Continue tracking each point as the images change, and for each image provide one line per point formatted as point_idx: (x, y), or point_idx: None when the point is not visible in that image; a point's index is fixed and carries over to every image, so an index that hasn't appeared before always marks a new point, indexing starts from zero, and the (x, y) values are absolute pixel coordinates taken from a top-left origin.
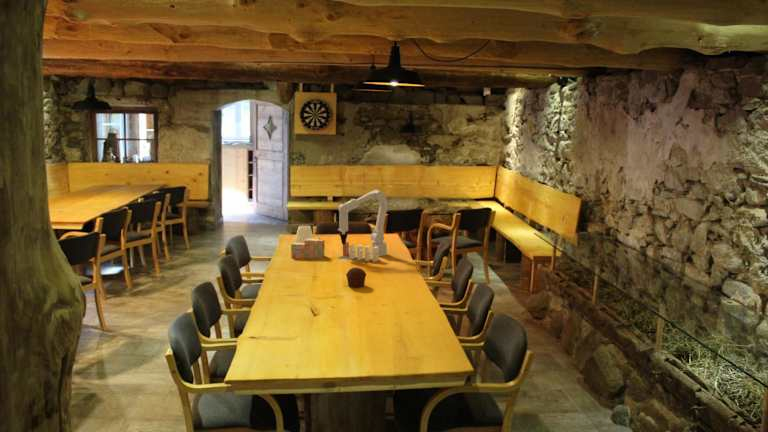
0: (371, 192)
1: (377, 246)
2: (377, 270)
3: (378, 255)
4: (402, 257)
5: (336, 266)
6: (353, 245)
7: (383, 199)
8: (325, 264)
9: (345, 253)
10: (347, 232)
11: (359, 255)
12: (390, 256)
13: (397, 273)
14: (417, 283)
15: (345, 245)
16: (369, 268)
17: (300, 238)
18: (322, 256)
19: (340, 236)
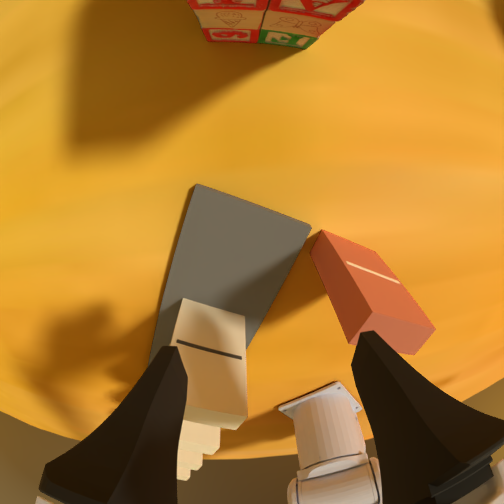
0: None
1: (186, 479)
2: (44, 386)
3: (292, 415)
4: (271, 453)
5: (3, 223)
6: (187, 418)
7: None
8: (21, 133)
9: (316, 267)
10: (383, 499)
11: None
12: (291, 434)
13: (51, 416)
14: (16, 416)
15: (340, 323)
16: (50, 371)
17: None
18: (204, 32)
19: (70, 451)
